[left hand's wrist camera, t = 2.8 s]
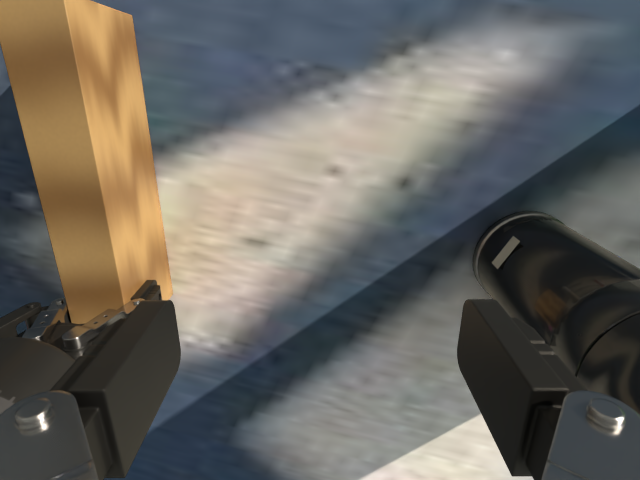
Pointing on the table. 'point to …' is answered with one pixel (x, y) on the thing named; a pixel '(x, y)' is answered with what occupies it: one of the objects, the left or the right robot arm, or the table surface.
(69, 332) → the right robot arm
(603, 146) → the table surface
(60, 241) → the bar
